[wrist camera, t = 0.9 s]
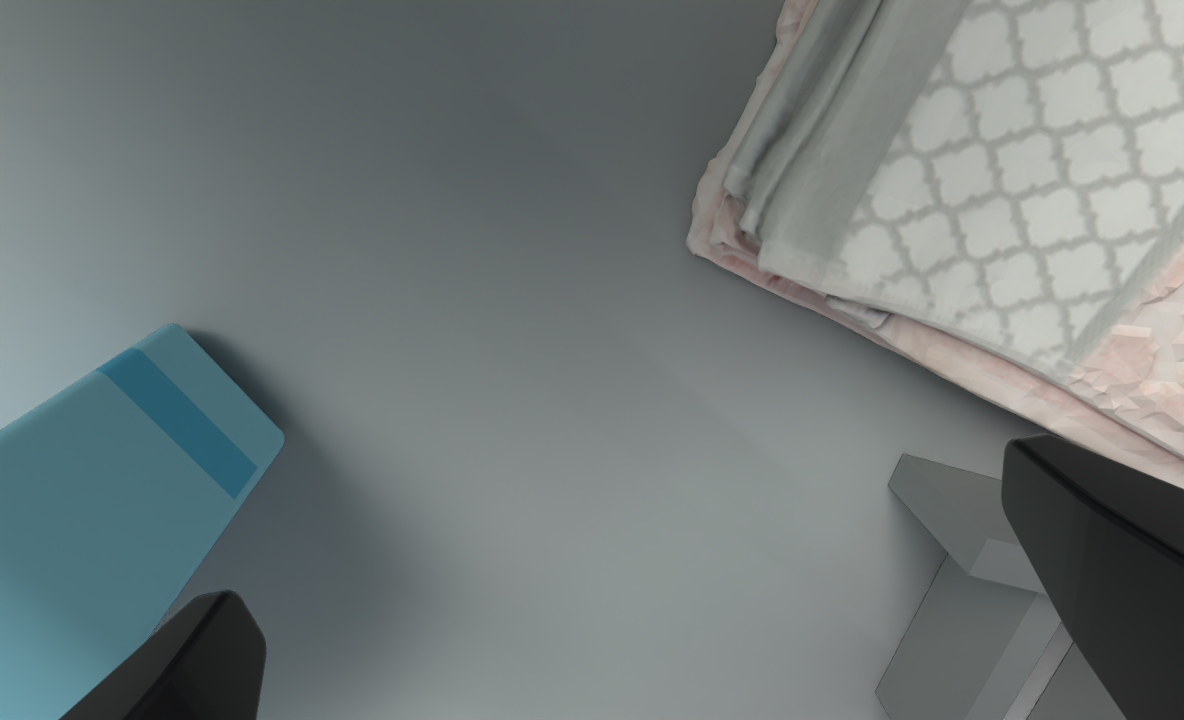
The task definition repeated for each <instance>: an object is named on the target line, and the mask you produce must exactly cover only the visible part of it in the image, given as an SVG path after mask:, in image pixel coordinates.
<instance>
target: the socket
mask: <svg viewBox="0 0 1184 720" xmlns="http://www.w3.org/2000/svg"><path fill="white" fill-rule="evenodd" d="M888 486H889V487H890V488H891V489H892V491H893V492H894V493H895V494H896V495H897V496H898V497H899V498H900V499H901V501H902V502H903V503H904V504H905V505H906V506H907V507H908V508H909V509H910V511H911V512H912V513H913V514H914V515H915V516H916V517H917V518H918V519H919V521H920V522H921V523H922V524H923V525H924V526H925V527H926V528H927V530H928V531H929V532H930V533H931V534H932V535H933V536H934V537H935V538H936V540H937V541H938V542H939V543H940V544H941V545H942V546H943V547H944V548H945V550H946V551H947V552H948V554H947V556H946V558H945V560H944V562H943V564H942V565H941V567H940V569H939V571H938V573H937V575H936V577H935V579H934V581H933V583H932V585H931V586H930V588H929V590H928V592H927V594H926V596H925V598H924V600H923V602H922V604H921V605H920V607H919V609H918V611H917V613H916V615H915V617H914V619H913V621H912V623H911V624H910V626H909V628H908V630H907V632H906V634H905V636H904V638H903V640H902V642H901V644H900V645H899V647H898V649H897V651H896V653H895V655H894V657H893V659H892V661H891V663H890V664H889V666H888V668H887V670H886V672H885V674H884V676H883V678H882V680H881V682H880V684H879V685H878V687H877V689H876V691H875V693H876V695H877V696H878V698H879V700H880V702H881V703H882V705H883V707H884V709H885V711H886V712H887V714H888V716H889V718H890V719H891V720H1003V718H1004V717H1005V715H1006V713H1007V712H1008V710H1009V708H1010V706H1011V705H1012V703H1013V701H1014V700H1015V698H1016V696H1017V695H1018V693H1019V691H1020V690H1021V688H1022V686H1023V685H1024V683H1025V681H1026V680H1027V678H1028V676H1029V675H1030V673H1031V671H1032V670H1033V668H1034V666H1035V665H1036V663H1037V661H1038V660H1039V658H1040V656H1041V655H1042V653H1043V651H1044V649H1045V648H1046V646H1047V644H1048V643H1049V641H1050V639H1051V638H1052V636H1053V634H1054V633H1055V631H1056V629H1057V628H1058V626H1059V624H1060V623H1061V619H1060V617H1059V616H1058V614H1057V612H1056V610H1055V608H1054V606H1053V604H1052V602H1051V601H1050V599H1049V597H1048V595H1047V593H1046V591H1045V589H1044V587H1043V586H1042V584H1041V582H1040V580H1039V578H1038V576H1037V574H1036V572H1035V571H1034V569H1033V567H1032V565H1031V563H1030V561H1029V559H1028V557H1027V556H1026V554H1025V552H1024V550H1023V548H1022V546H1021V544H1020V542H1019V541H1018V539H1017V537H1016V535H1015V533H1014V531H1013V529H1012V527H1011V526H1010V524H1009V522H1008V520H1007V518H1006V516H1005V513H1004V511H1003V507H1002V503H1001V486H1002V481H1001V480H998V479H994V478H990V477H987V476H983V475H979V474H976V473H972V472H968V471H965V470H961V469H957V468H954V467H950V466H946V465H943V464H939V463H935V462H932V461H928V460H924V459H921V458H917V457H913V456H910V455H906V454H903V455H902V457H901V459H900V461H899V463H898V465H897V467H896V469H895V471H894V473H893V476H892V478H891V480H890V482H889V484H888ZM1027 720H1126V719H1125V717H1124V716H1123V714H1122V713H1121V711H1120V710H1119V708H1118V707H1117V705H1116V704H1115V702H1114V701H1113V699H1112V698H1111V696H1110V695H1109V694H1108V692H1107V691H1106V689H1105V688H1104V686H1103V685H1102V683H1101V682H1100V680H1099V679H1098V677H1097V676H1096V674H1095V673H1094V672H1093V670H1092V669H1091V667H1090V666H1089V664H1088V663H1087V661H1086V660H1085V658H1084V657H1083V655H1082V654H1081V652H1080V651H1079V649H1078V648H1077V646H1076V644H1075V643H1073V644H1072V646H1071V648H1070V649H1069V651H1068V653H1067V654H1066V656H1065V658H1064V659H1063V661H1062V663H1061V664H1060V666H1059V667H1058V669H1057V671H1056V672H1055V674H1054V676H1053V677H1052V679H1051V681H1050V682H1049V684H1048V686H1047V687H1046V689H1045V690H1044V692H1043V694H1042V695H1041V697H1040V699H1039V700H1038V702H1037V704H1036V705H1035V707H1034V709H1033V710H1032V712H1031V713H1030V715H1029V717H1028V718H1027Z"/></svg>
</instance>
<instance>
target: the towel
mask: <svg viewBox="0 0 1184 720" xmlns="http://www.w3.org/2000/svg"><path fill="white" fill-rule="evenodd" d="M775 35H776V37H777V43H776V47H775V49H774V51H773V53H772V55H771V57H770V59H769V61H768V63H767V65H766V67H765V69H764V71H763V72H762V73H761V74H760V75H759V76H757V77H756V87H755V89H754V91H753V93H752V95H751V97H750V99H749V101H748V103H747V105H746V107H745V109H744V111H743V113H742V115H741V117H740V119H739V121H738V123H737V125H736V127H735V129H734V131H733V133H732V135H731V137H730V138H729V140H728V142H727V144H726V146H725V147H723V148H722V149H721V150H720V151H718V152H717V155H716V157H715V158H713V159H711V160H709V162H708V165H707V169H706V171H705V173H704V175H703V176H702V178H701V179H700V182H699V184H698V187H697V191H696V196H695V198H694V200H693V203H692V214H693V220H692V223H691V228H690V231H689V233H688V236H687V239H686V245H687V248H688V249H689V250H690V252H691V253H692V255H696V256H700V257H704V258H707V259H709V260H711V261H712V262H714V263H715V264H717V265H719V266H720V267H722V268H725V269H727V270H729V271H731V272H733V273H735V274H737V275H739V276H741V277H743V278H745V279H747V280H749V281H750V282H752V283H754V284H756V285H758V286H760V287H762V288H764V289H766V290H768V291H770V292H772V293H774V294H776V295H778V296H781V297H783V298H785V299H787V300H789V301H791V302H793V303H795V304H798V305H801V306H803V307H806V308H809V309H811V310H813V311H815V312H817V313H819V314H821V315H823V316H825V317H828V318H830V319H832V320H834V321H836V322H838V323H840V324H842V325H844V326H845V327H847V328H849V329H851V330H853V331H855V332H857V333H858V334H860V335H862V336H864V337H866V338H868V339H869V340H871V341H873V342H875V343H876V344H878V345H880V346H882V347H884V348H887V349H889V350H891V351H893V352H895V353H897V354H899V355H901V356H903V357H905V358H907V359H909V360H911V361H913V362H915V363H917V364H919V365H921V366H923V367H925V368H927V369H928V370H930V371H932V372H933V373H935V374H937V375H938V376H940V377H942V378H944V379H946V380H948V381H950V382H952V383H954V384H957V385H958V386H960V387H962V388H964V389H965V390H967V391H969V392H971V393H973V394H974V395H976V396H978V397H980V398H982V399H984V400H987V401H989V402H991V403H993V404H995V405H997V406H999V407H1002V408H1004V409H1006V410H1008V411H1010V412H1012V413H1014V414H1017V415H1019V416H1021V417H1023V418H1025V419H1027V420H1029V421H1031V422H1034V423H1036V424H1038V425H1040V426H1042V427H1044V428H1046V429H1048V430H1049V431H1051V432H1053V433H1055V434H1057V435H1059V436H1061V437H1063V438H1065V439H1067V440H1069V441H1071V442H1073V443H1075V444H1077V445H1079V446H1082V447H1084V448H1086V449H1088V450H1090V451H1093V452H1095V453H1098V454H1100V455H1103V456H1105V457H1108V458H1110V459H1112V460H1115V461H1117V462H1120V463H1122V464H1125V465H1127V466H1129V467H1132V468H1134V469H1137V470H1139V471H1142V472H1144V473H1147V474H1149V475H1151V476H1154V477H1156V478H1159V479H1161V480H1164V481H1166V482H1168V483H1171V484H1173V485H1176V486H1178V487H1181V488H1183V489H1184V0H785V3H784V6H783V9H782V12H781V14H780V16H779V19H778V21H777V29H776V33H775Z"/></svg>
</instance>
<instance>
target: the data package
mask: <svg viewBox="0 0 1184 720" xmlns="http://www.w3.org/2000/svg"><path fill="white" fill-rule="evenodd" d="M284 441H285V436H284V434H283V432H282V431H281V430H280V429H279V428H278V427H277V426H276V425H275V424H274V423H273V422H272V421H271V420H270V419H269V418H268V416H267V415H266V414H265V413H264V412H263V411H262V410H261V409H260V408H259V407H258V406H257V405H256V404H255V403H254V402H253V401H252V400H251V399H250V398H249V397H248V396H247V395H246V394H245V393H244V392H243V391H242V390H241V388H240V387H239V386H238V385H237V384H236V383H235V382H234V381H233V380H232V379H231V378H230V377H229V376H228V375H227V374H226V373H225V372H224V371H223V370H222V369H221V368H220V367H219V366H218V365H217V364H216V363H215V362H214V360H213V359H212V358H211V357H210V356H209V355H208V354H207V353H206V352H205V351H204V350H203V349H202V348H201V347H200V346H199V345H198V344H197V343H196V342H195V341H194V340H193V339H192V338H191V337H190V336H189V335H188V333H187V332H186V331H185V330H184V329H183V328H182V327H181V326H179V325H177V324H167V325H165V326H163V327H162V328H160V329H158V330H157V331H155V332H154V333H152V334H150V335H149V336H147V337H146V338H144V339H143V340H141V341H140V342H138V343H136V344H135V345H133V346H132V347H130V348H129V349H127V350H125V351H124V352H122V353H121V354H119V355H118V356H116V357H114V358H113V359H111V360H110V361H108V362H107V363H105V364H103V365H102V366H100V367H99V368H97V369H96V370H94V371H92V372H91V373H89V374H88V375H86V376H85V377H83V378H81V379H80V380H78V381H77V382H75V383H74V384H72V385H70V386H69V387H67V388H66V389H64V390H63V391H61V392H59V393H58V394H56V395H55V396H53V397H52V398H50V399H48V400H47V401H45V402H44V403H42V404H41V405H39V406H38V407H36V408H34V409H33V410H31V411H30V412H28V413H27V414H25V415H23V416H22V417H20V418H19V419H17V420H16V421H14V422H12V423H11V424H9V425H8V426H6V427H5V428H3V429H1V430H0V720H58V719H59V718H61V717H62V716H63V715H64V714H65V713H66V712H67V711H68V710H69V709H71V708H72V707H73V706H74V705H75V704H76V703H77V702H78V701H80V700H81V699H82V698H83V697H84V696H85V695H86V694H87V693H89V692H90V691H91V690H92V689H93V688H94V687H95V686H96V685H98V684H99V683H100V682H101V681H102V680H103V679H104V678H105V677H106V676H108V675H109V674H110V673H111V672H112V671H113V670H114V669H115V668H117V667H118V666H119V665H120V664H121V663H122V662H123V661H124V660H126V659H127V658H128V657H129V656H130V655H131V654H132V653H133V652H135V651H136V650H137V649H138V648H139V647H140V646H141V645H142V644H143V643H145V642H146V640H147V639H148V637H149V636H150V634H151V633H152V632H153V630H154V629H155V627H156V626H157V625H158V623H159V622H160V620H161V619H162V617H163V616H164V615H165V613H166V612H167V610H168V609H169V607H170V606H171V605H172V603H173V602H174V600H175V599H176V598H177V596H178V595H179V593H180V592H181V590H182V589H183V588H184V586H185V585H186V583H187V582H188V581H189V579H190V578H191V576H192V575H193V573H194V572H195V571H196V569H197V568H198V566H199V565H200V563H201V562H202V561H203V559H204V558H205V556H206V555H207V554H208V552H209V551H210V549H211V548H212V546H213V545H214V544H215V542H216V541H217V539H218V538H219V537H220V535H221V534H222V532H223V531H224V529H225V528H226V527H227V525H228V524H229V522H230V521H231V519H232V518H233V517H234V515H235V514H236V512H237V511H238V510H239V508H240V507H241V505H242V504H243V502H244V501H245V500H246V498H247V497H248V495H249V494H250V492H251V491H252V490H253V488H254V487H255V485H256V484H257V483H258V481H259V480H260V478H261V477H262V475H263V474H264V473H265V471H266V470H267V468H268V467H269V466H270V464H271V463H272V461H273V460H274V458H275V457H276V456H277V454H278V453H279V451H280V450H281V448H282V447H283V445H284Z"/></svg>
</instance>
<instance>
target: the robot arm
mask: <svg viewBox="0 0 1184 720" xmlns="http://www.w3.org/2000/svg"><path fill="white" fill-rule="evenodd" d="M1001 503H1002V507H1003V511H1004V513H1005V516H1006V518H1007V520H1008V522H1009V524H1010V526H1011V527H1012V529H1013V531H1014V533H1015V535H1016V537H1017V539H1018V541H1019V542H1020V544H1021V546H1022V548H1023V550H1024V552H1025V554H1026V556H1027V557H1028V559H1029V561H1030V563H1031V565H1032V567H1033V569H1034V571H1035V572H1036V574H1037V576H1038V578H1039V580H1040V582H1041V584H1042V586H1043V587H1044V589H1045V591H1046V593H1047V595H1048V597H1049V599H1050V601H1051V602H1052V604H1053V606H1054V608H1055V610H1056V612H1057V614H1058V616H1059V617H1060V619H1061V621H1062V623H1063V624H1064V626H1065V628H1066V630H1067V631H1068V633H1069V635H1070V637H1071V638H1072V640H1073V641H1074V643H1075V644H1076V646H1077V648H1078V649H1079V651H1080V652H1081V654H1082V655H1083V657H1084V658H1085V660H1086V661H1087V663H1088V664H1089V666H1090V667H1091V669H1092V670H1093V672H1094V673H1095V674H1096V676H1097V677H1098V679H1099V680H1100V682H1101V683H1102V685H1103V686H1104V688H1105V689H1106V691H1107V692H1108V694H1109V695H1110V696H1111V698H1112V699H1113V701H1114V702H1115V704H1116V705H1117V707H1118V708H1119V710H1120V711H1121V713H1122V714H1123V716H1124V717H1125V719H1126V720H1184V489H1183V488H1181V487H1178V486H1176V485H1173V484H1171V483H1168V482H1166V481H1164V480H1161V479H1159V478H1156V477H1154V476H1151V475H1149V474H1147V473H1144V472H1142V471H1139V470H1137V469H1134V468H1132V467H1129V466H1127V465H1125V464H1122V463H1120V462H1117V461H1115V460H1112V459H1110V458H1108V457H1105V456H1103V455H1100V454H1098V453H1095V452H1093V451H1090V450H1088V449H1086V448H1083V447H1081V446H1078V445H1076V444H1073V443H1071V442H1069V441H1066V440H1064V439H1061V438H1059V437H1056V436H1054V435H1051V434H1047V433H1041V434H1035V435H1030V436H1024V437H1019V438H1014V439H1012V440H1010V441H1009V442H1008V443H1007V445H1006V447H1005V451H1004V460H1003V473H1002V486H1001ZM265 662H266V642H265V638H264V636H263V633H262V632H261V630H260V628H259V627H258V625H257V623H256V622H255V620H254V618H253V617H252V615H251V613H250V612H249V610H248V608H247V607H246V605H245V603H244V602H243V600H242V598H241V597H240V596H239V594H237V593H236V592H234V591H232V590H224V591H219V592H213V593H208V594H203V595H200V596H198V597H196V598H194V599H193V600H192V601H191V602H189V603H188V604H187V605H186V606H185V607H184V608H183V609H182V610H180V611H179V612H178V613H177V614H176V615H175V616H174V617H173V618H171V619H170V620H169V621H168V622H167V623H166V624H165V625H164V626H163V627H161V628H160V629H159V630H158V631H157V632H156V633H155V634H154V635H152V636H151V637H150V638H149V639H148V640H147V641H146V642H145V643H143V644H142V645H141V646H140V647H139V648H138V649H137V650H136V651H135V652H133V653H132V654H131V655H130V656H129V657H128V658H127V659H126V660H124V661H123V662H122V663H121V664H120V665H119V666H118V667H117V668H115V669H114V670H113V671H112V672H111V673H110V674H109V675H108V676H106V677H105V678H104V679H103V680H102V681H101V682H100V683H99V684H98V685H96V686H95V687H94V688H93V689H92V690H91V691H90V692H89V693H87V694H86V695H85V696H84V697H83V698H82V699H81V700H80V701H78V702H77V703H76V704H75V705H74V706H73V707H72V708H71V709H69V710H68V711H67V712H66V713H65V714H64V715H63V716H62V717H61V718H59V719H58V720H256V718H257V712H258V706H259V699H260V693H261V687H262V680H263V674H264V668H265Z"/></svg>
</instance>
